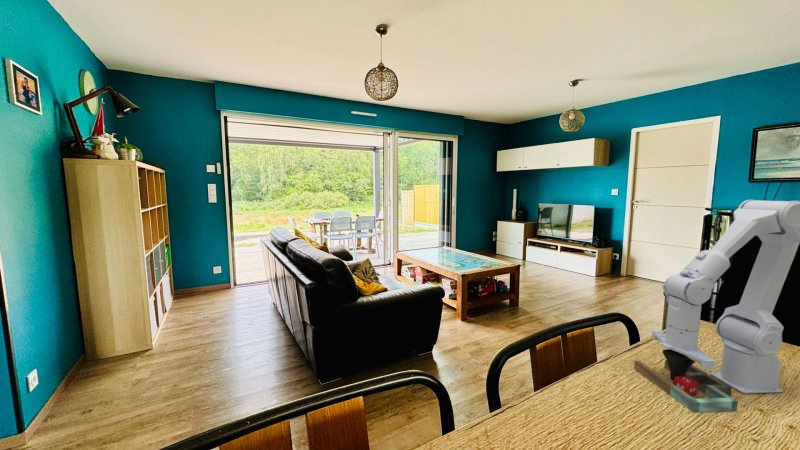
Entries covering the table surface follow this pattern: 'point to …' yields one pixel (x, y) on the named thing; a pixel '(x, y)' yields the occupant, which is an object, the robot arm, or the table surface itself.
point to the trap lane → (706, 384)
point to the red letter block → (686, 384)
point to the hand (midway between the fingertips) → (677, 381)
